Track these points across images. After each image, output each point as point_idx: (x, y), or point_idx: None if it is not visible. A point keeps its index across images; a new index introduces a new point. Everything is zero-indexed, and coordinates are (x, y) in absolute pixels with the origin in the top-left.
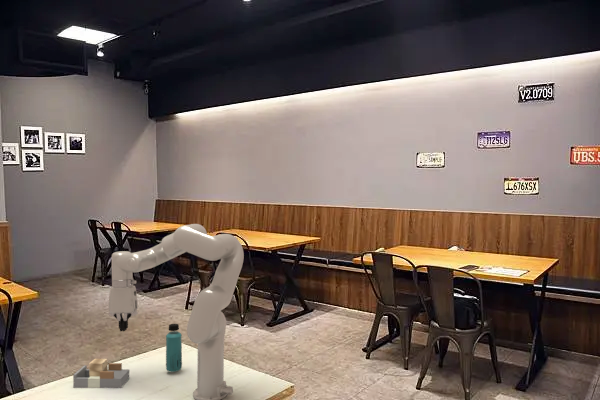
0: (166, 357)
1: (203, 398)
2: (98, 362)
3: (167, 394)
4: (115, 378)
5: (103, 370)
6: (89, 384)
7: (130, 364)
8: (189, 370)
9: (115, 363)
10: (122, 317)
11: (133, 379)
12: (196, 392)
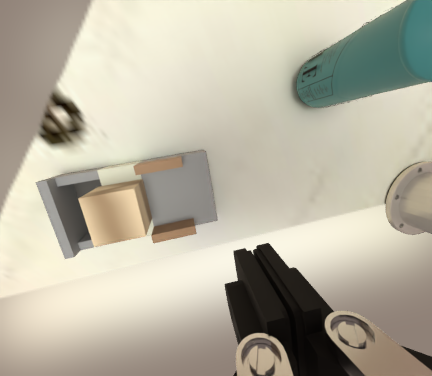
0: (325, 89)
1: (413, 232)
2: (123, 230)
3: (332, 216)
4: (200, 221)
5: (147, 214)
6: None
7: (143, 34)
8: None
9: (159, 164)
10: (288, 371)
11: (218, 155)
12: (397, 210)
